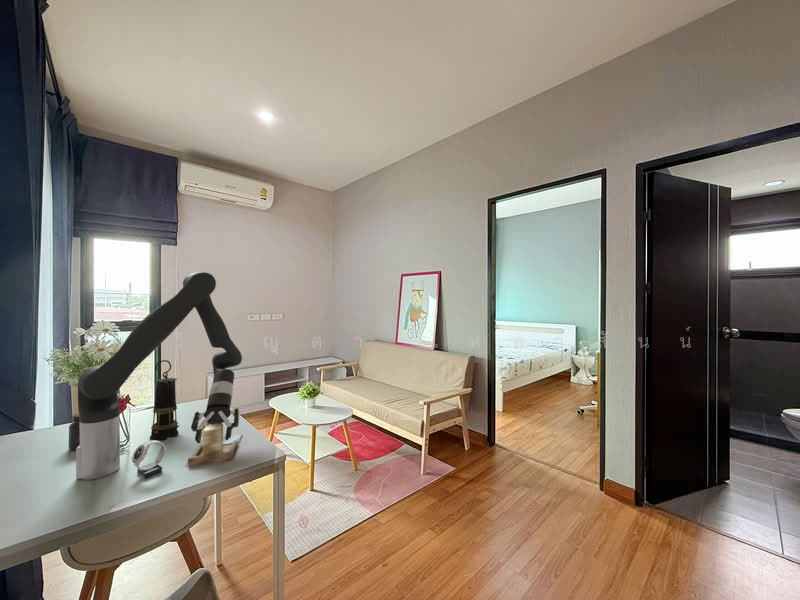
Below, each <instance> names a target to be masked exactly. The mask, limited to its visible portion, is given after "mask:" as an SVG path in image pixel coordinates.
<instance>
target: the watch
mask: <svg viewBox="0 0 800 600" xmlns="http://www.w3.org/2000/svg"><path fill="white" fill-rule="evenodd" d="M153 444H160V446H161V447H160V450H159V451H158V454H157V456H156V458H155V460H154V461H153V462H150V463H148V464H145V465H142V466H140V465H141V463H142V462H143V460H144V459H145V458H146V457H147V455H148V451H149V448H150V447H151V445H153ZM166 452H167V451H166V446H165V444H164V443H162V441H157V440H148V441H145V442H144V443H142V444H140V445H139V446H138V447H137V448H136V449H135V450H134V452H133V454H132V457H131V461H132V463H133V465H134V466H135V468H136V469H137V475H138V476H139V477H141V478H143V479H144V480H147V479H150V478H152V477H154V476H156V475H159V474H163V466H161V465H159V464H161V462H162V460H163V458H164V456H165V455H166Z"/></svg>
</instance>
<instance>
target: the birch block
mask: <svg viewBox="0 0 800 600" xmlns="http://www.w3.org/2000/svg"><path fill="white" fill-rule="evenodd" d="M223 436H224V422H223V423H221V424H210V425H207V426H206V427H205V428H204V430H203V431H202V439H203V455H209V454H217V453H223Z"/></svg>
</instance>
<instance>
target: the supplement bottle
mask: <svg viewBox="0 0 800 600" xmlns="http://www.w3.org/2000/svg"><path fill="white" fill-rule="evenodd" d="M78 446H80V418H79V413H76V414H74V415H72V422H71V423H70V424H69V426H68V450H69V451H71V452H72V451H73V452H76V448H77V447H78Z"/></svg>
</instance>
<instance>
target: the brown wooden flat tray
mask: <svg viewBox="0 0 800 600" xmlns="http://www.w3.org/2000/svg"><path fill="white" fill-rule="evenodd" d="M225 436H226V435H223V453H217V454H209V455H203V438H201V442H200V443H198V445H197V447H196V448H195V449H194V451H193V453H192V454H191V456H189V457H188V458H187V462H186V464H185V465H184V468H187V467H197V466H201V465H203V466H205V465H212V464H217V463H226V462H233V461H234V459H235V457H236V454H237V452H238V450H239V447H240V444H241V442H242V439H243V437H244V435H243V434H233V435H232V434H231V437H230V438H229V440H226V439H225Z"/></svg>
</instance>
